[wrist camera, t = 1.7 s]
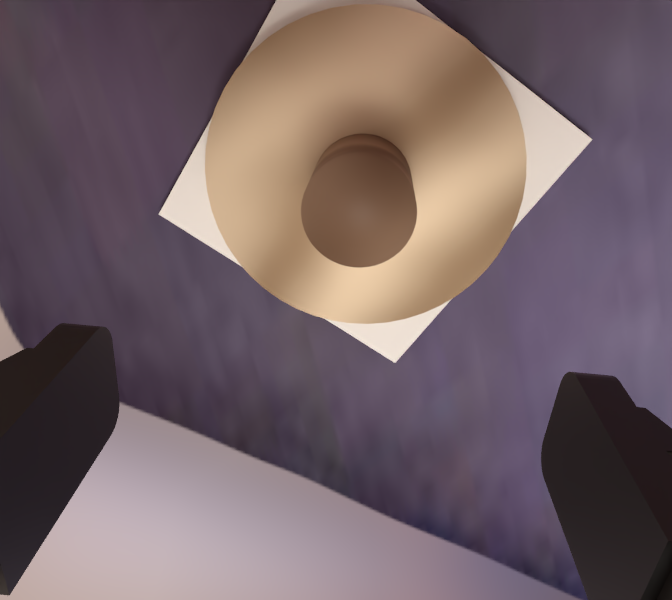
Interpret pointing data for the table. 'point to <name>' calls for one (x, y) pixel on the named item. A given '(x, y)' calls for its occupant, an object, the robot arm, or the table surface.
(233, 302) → the table surface
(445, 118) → the lid
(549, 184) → the mat
